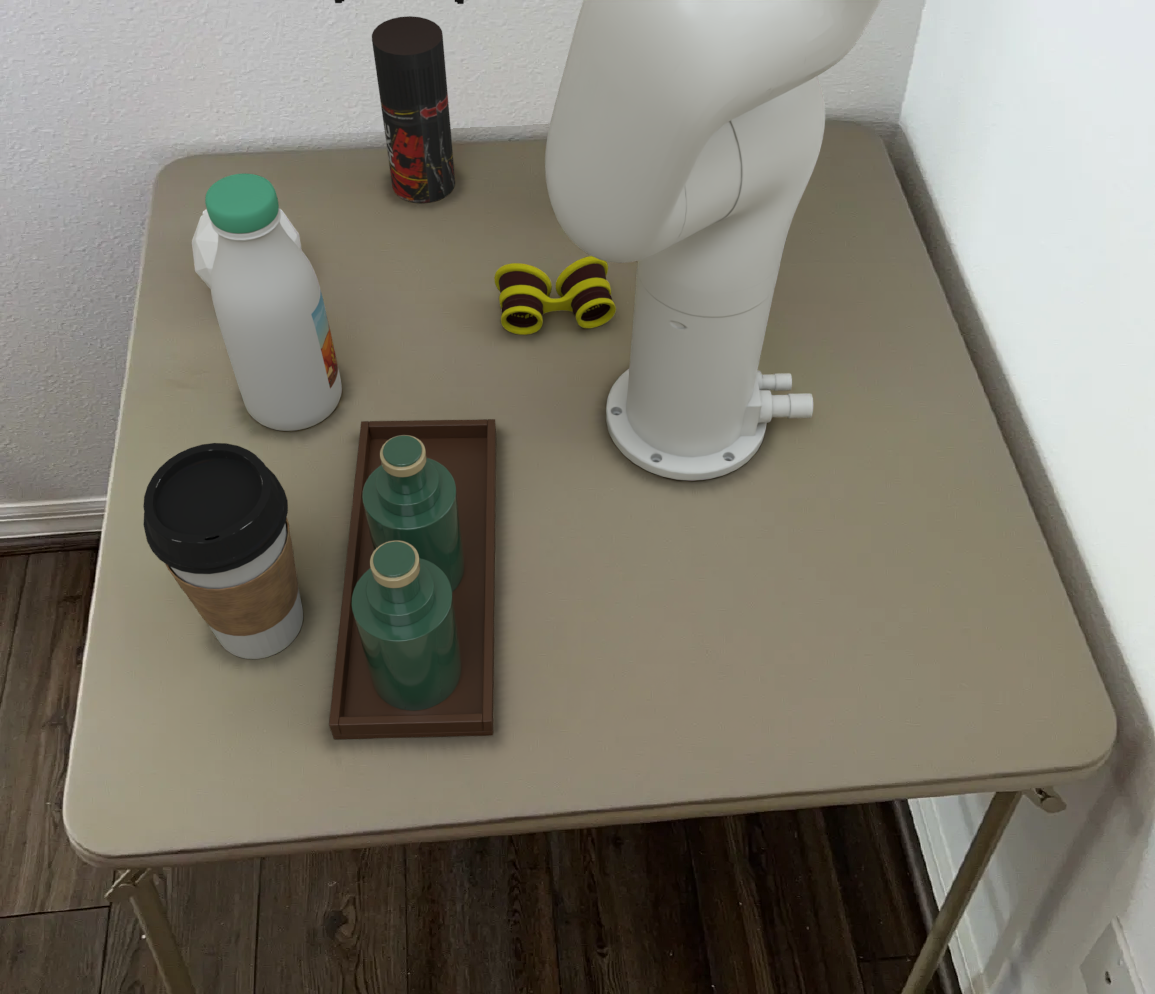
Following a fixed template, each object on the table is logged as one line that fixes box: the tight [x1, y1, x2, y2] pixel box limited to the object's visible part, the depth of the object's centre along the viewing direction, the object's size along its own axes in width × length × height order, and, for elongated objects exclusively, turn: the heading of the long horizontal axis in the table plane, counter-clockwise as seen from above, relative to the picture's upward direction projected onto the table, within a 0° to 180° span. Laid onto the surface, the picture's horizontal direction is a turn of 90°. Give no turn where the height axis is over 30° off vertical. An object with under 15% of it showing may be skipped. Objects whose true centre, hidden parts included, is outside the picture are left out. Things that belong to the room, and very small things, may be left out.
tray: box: [328, 418, 497, 740], centre depth 79 cm, size 10×25×2 cm, turn 2°
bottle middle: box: [362, 435, 465, 592], centre depth 74 cm, size 6×6×13 cm
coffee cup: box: [142, 442, 304, 660], centre depth 72 cm, size 8×8×15 cm
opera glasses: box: [493, 255, 617, 336], centre depth 94 cm, size 10×5×5 cm, turn 99°
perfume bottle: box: [191, 208, 302, 290], centre depth 95 cm, size 9×9×12 cm
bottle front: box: [352, 541, 462, 711], centre depth 70 cm, size 6×6×13 cm
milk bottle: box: [204, 172, 343, 432], centre depth 82 cm, size 8×8×20 cm
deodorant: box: [371, 15, 456, 204], centre depth 101 cm, size 6×6×15 cm
